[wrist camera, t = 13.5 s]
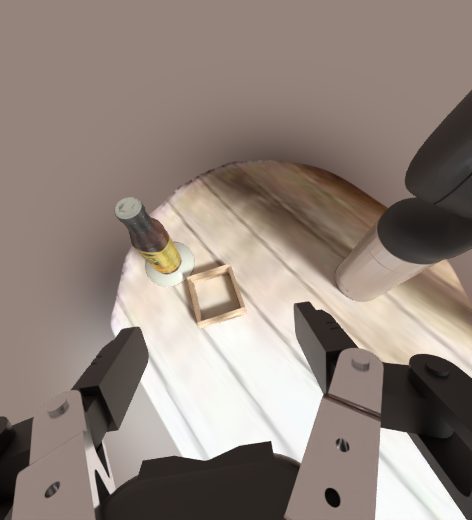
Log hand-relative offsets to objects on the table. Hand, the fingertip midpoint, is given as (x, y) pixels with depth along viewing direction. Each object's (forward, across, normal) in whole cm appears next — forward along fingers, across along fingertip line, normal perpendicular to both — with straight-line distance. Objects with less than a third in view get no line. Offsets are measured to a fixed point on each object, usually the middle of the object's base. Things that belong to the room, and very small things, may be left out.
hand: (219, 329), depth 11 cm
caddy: (+32, +3, +14) cm, 35 cm away
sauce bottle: (+38, +13, +8) cm, 41 cm away
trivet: (+38, +13, +8) cm, 41 cm away
